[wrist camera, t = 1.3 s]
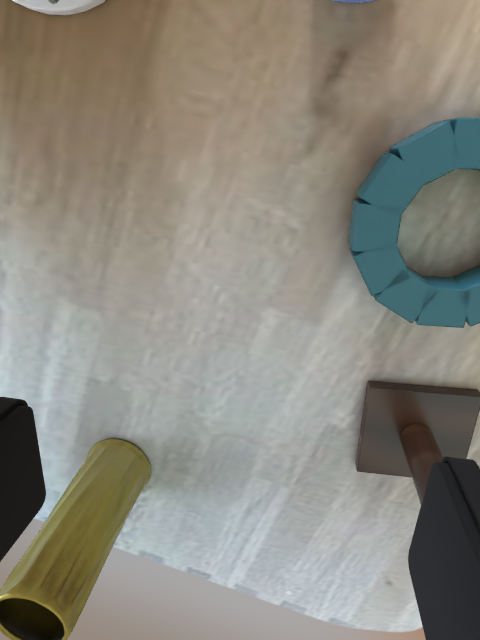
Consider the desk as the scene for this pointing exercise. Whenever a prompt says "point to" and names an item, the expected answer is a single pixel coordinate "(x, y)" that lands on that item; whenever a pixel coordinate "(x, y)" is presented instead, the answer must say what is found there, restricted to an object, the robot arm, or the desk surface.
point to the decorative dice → (354, 1)
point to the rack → (414, 429)
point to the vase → (73, 544)
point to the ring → (384, 221)
